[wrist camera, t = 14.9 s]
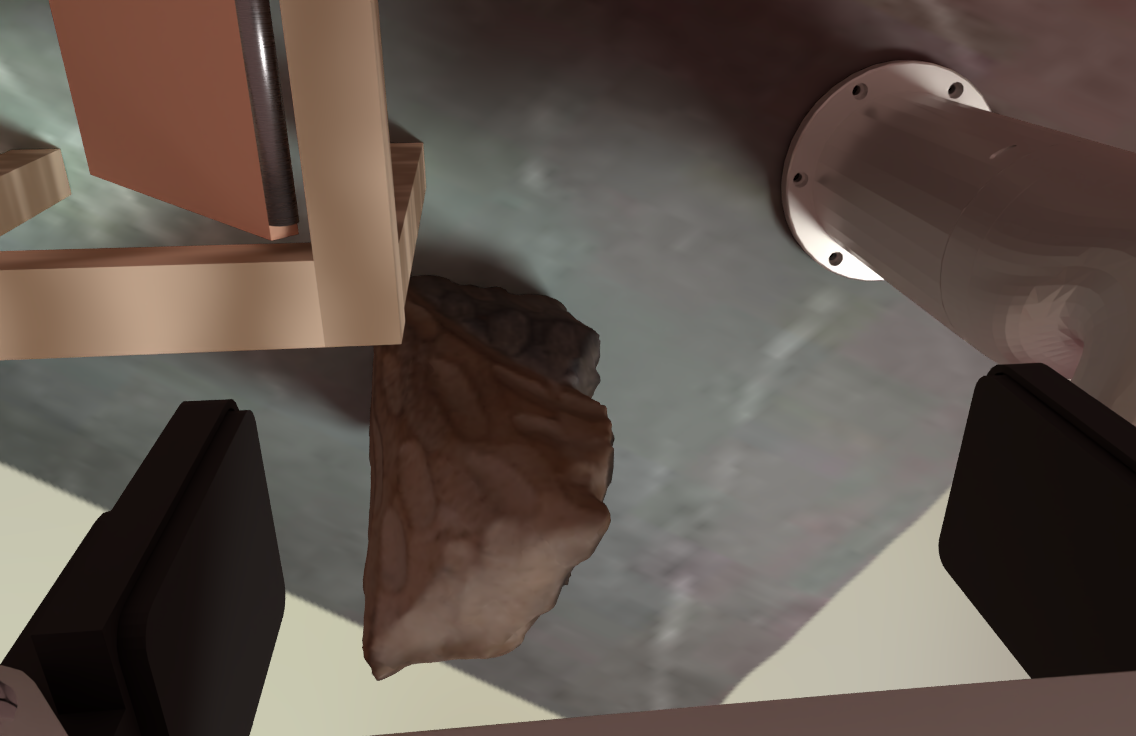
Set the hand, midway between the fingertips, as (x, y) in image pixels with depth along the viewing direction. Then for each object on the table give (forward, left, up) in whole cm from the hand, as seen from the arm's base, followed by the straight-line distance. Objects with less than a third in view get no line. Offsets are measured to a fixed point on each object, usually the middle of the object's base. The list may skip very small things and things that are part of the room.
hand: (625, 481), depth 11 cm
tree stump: (+3, +15, -38) cm, 41 cm away
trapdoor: (+12, -5, -24) cm, 27 cm away
